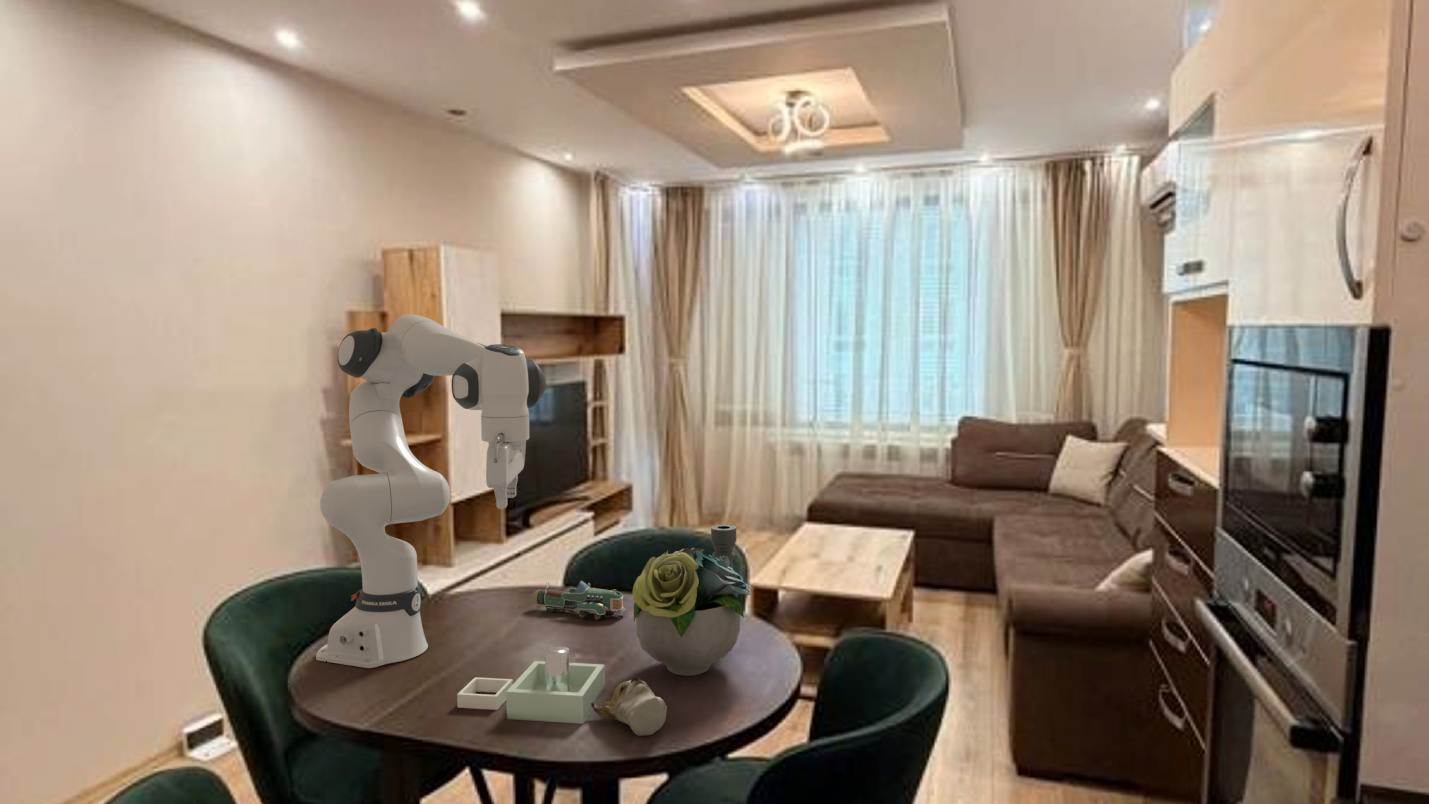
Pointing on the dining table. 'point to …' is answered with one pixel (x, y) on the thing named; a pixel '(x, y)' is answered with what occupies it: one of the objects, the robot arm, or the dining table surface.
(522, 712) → the tray
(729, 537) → the candle holder
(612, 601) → the green metal elongated vehicle
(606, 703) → the ceramic sculpture
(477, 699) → the socket collar
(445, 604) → the dining table surface
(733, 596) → the flower arrangement
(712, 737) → the dining table surface
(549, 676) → the clear glass cylinder
